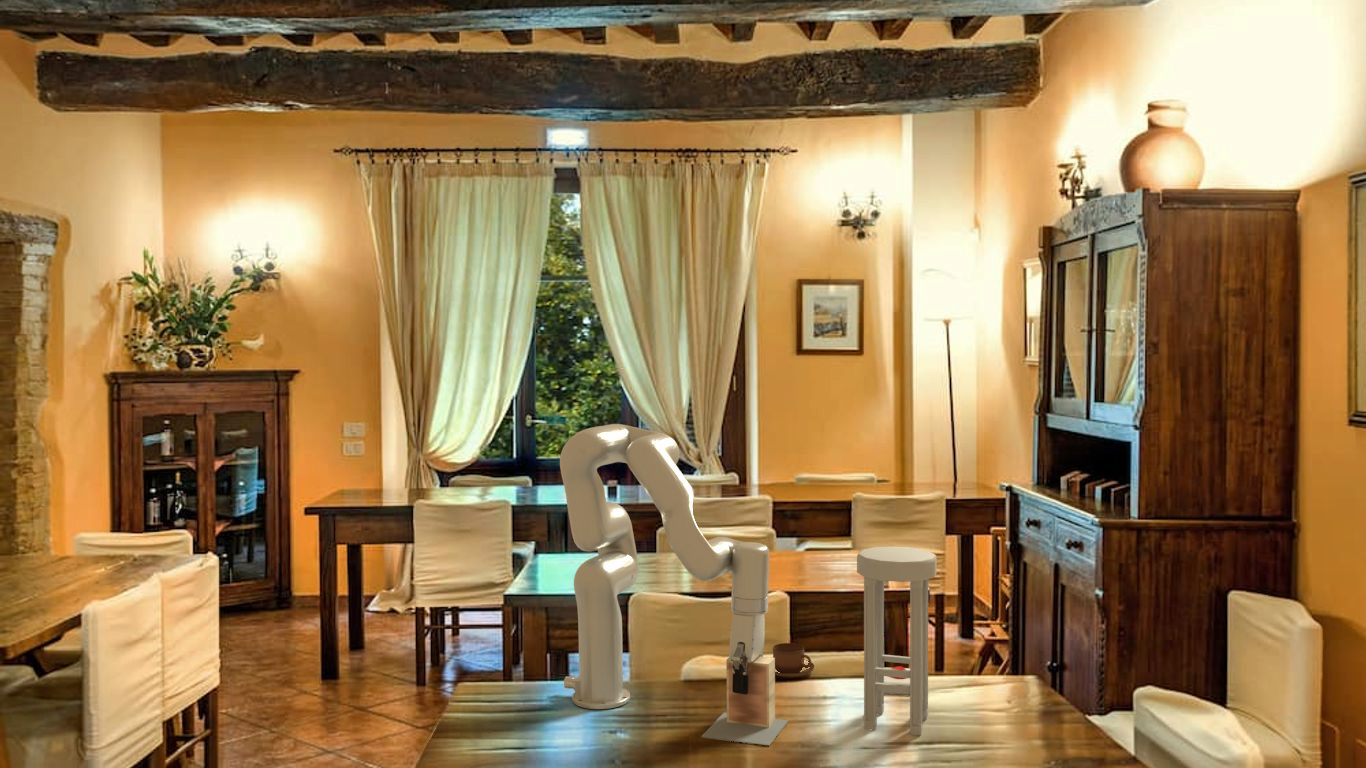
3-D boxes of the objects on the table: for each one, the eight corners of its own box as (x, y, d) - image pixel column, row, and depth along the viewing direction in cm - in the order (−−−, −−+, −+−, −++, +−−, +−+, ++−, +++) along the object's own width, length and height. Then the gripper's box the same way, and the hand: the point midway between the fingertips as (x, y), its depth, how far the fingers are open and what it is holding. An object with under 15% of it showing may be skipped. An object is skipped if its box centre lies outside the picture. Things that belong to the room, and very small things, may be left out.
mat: (701, 737, 213) (701, 736, 213) (723, 713, 226) (723, 712, 226) (769, 746, 208) (769, 745, 208) (788, 721, 221) (788, 720, 221)
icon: (869, 659, 249) (913, 660, 248) (869, 677, 250) (913, 679, 248) (871, 676, 237) (917, 677, 236) (871, 695, 238) (917, 697, 236)
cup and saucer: (819, 668, 256) (819, 642, 256) (808, 683, 245) (808, 657, 245) (770, 663, 260) (770, 638, 260) (757, 678, 249) (757, 652, 249)
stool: (865, 705, 230) (865, 544, 228) (939, 713, 225) (939, 548, 223) (851, 731, 216) (851, 558, 214) (930, 740, 210) (930, 563, 209)
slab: (726, 722, 220) (726, 659, 220) (733, 714, 225) (733, 653, 224) (769, 727, 217) (768, 664, 217) (775, 719, 221) (774, 657, 221)
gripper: (744, 591, 229) (742, 670, 230) (718, 612, 213) (716, 696, 214) (778, 595, 226) (776, 675, 228) (754, 616, 210) (752, 702, 211)
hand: (747, 685), depth 221 cm, fingers open, 9 cm apart
